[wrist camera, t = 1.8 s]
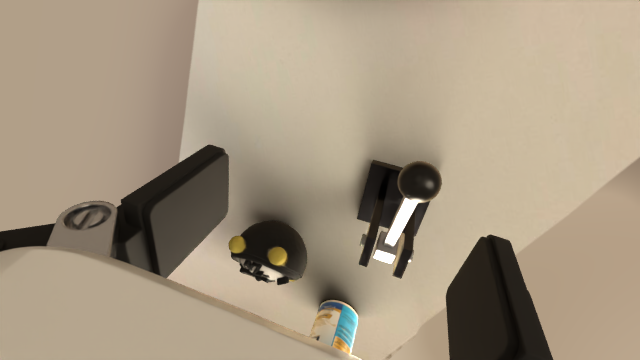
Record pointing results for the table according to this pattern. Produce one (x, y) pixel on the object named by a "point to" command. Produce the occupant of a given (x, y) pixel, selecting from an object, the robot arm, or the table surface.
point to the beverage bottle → (335, 325)
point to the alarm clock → (270, 252)
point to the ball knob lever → (408, 204)
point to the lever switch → (387, 214)
